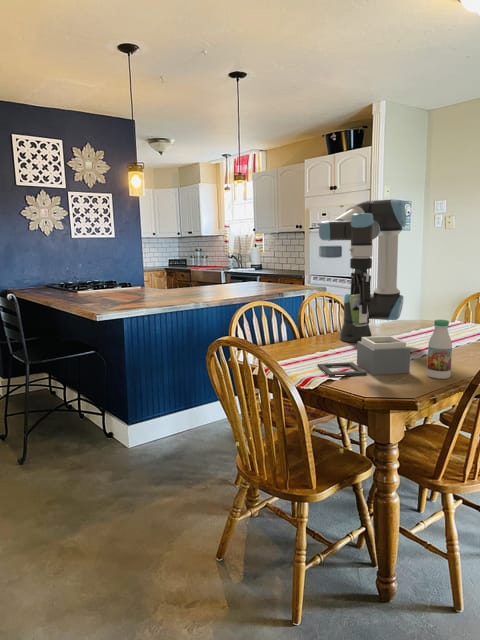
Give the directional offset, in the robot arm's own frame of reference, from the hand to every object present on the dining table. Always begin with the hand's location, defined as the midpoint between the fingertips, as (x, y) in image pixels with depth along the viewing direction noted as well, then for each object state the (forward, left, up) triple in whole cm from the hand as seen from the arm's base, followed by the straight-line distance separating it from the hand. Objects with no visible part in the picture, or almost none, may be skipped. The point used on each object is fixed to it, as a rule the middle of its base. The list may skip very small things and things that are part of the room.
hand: (359, 320), depth 173 cm
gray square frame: (0, -7, -19) cm, 20 cm away
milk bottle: (+13, +24, -19) cm, 33 cm away
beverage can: (0, 0, -2) cm, 2 cm away
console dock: (0, +9, -19) cm, 21 cm away
